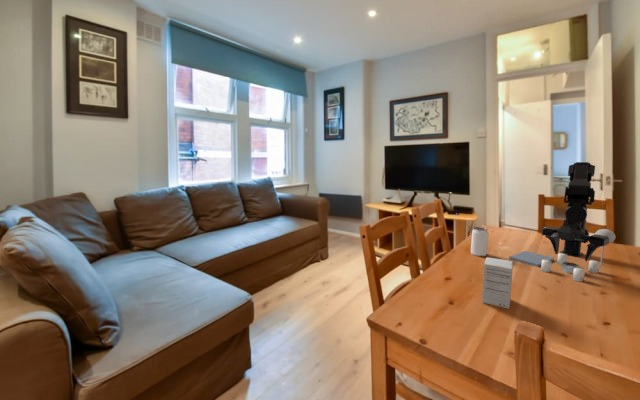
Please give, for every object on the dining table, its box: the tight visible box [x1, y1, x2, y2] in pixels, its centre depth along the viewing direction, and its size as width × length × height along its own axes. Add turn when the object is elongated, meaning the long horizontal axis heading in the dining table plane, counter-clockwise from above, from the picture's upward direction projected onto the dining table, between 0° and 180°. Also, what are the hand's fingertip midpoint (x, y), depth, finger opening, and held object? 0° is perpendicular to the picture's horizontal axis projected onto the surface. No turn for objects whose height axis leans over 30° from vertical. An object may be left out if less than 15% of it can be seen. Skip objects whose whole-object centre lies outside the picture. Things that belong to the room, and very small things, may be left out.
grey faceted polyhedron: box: [560, 261, 580, 275], centre depth 112 cm, size 5×4×3 cm
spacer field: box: [540, 252, 601, 283], centre depth 112 cm, size 17×13×4 cm
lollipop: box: [594, 228, 616, 266], centre depth 117 cm, size 6×6×15 cm
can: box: [470, 226, 489, 257], centre depth 132 cm, size 6×6×12 cm
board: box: [508, 250, 555, 267], centre depth 125 cm, size 14×11×1 cm
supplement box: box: [481, 257, 514, 309], centre depth 90 cm, size 7×7×13 cm
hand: (570, 257), depth 112 cm, fingers open, 9 cm apart
